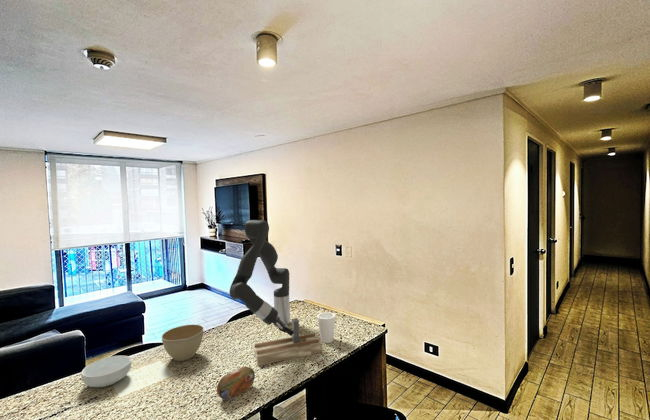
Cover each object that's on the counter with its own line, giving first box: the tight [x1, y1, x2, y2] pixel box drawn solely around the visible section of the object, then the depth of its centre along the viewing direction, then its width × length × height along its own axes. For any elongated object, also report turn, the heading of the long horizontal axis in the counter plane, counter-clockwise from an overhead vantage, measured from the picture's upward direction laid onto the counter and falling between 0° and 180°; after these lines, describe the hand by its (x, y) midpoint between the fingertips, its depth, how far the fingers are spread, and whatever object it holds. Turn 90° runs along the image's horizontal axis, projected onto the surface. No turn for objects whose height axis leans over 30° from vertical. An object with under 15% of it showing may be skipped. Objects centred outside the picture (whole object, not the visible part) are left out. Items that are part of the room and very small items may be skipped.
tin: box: [216, 366, 256, 401], centre depth 116 cm, size 15×3×8 cm, turn 137°
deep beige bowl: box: [161, 324, 204, 362], centre depth 145 cm, size 18×18×12 cm
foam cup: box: [316, 311, 336, 344], centre depth 158 cm, size 10×9×13 cm
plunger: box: [291, 318, 300, 343], centre depth 147 cm, size 4×3×11 cm
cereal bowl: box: [80, 355, 132, 388], centre depth 126 cm, size 17×17×7 cm
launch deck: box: [253, 332, 322, 366], centre depth 146 cm, size 12×30×6 cm, turn 110°
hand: (292, 333), depth 147 cm, fingers closed
